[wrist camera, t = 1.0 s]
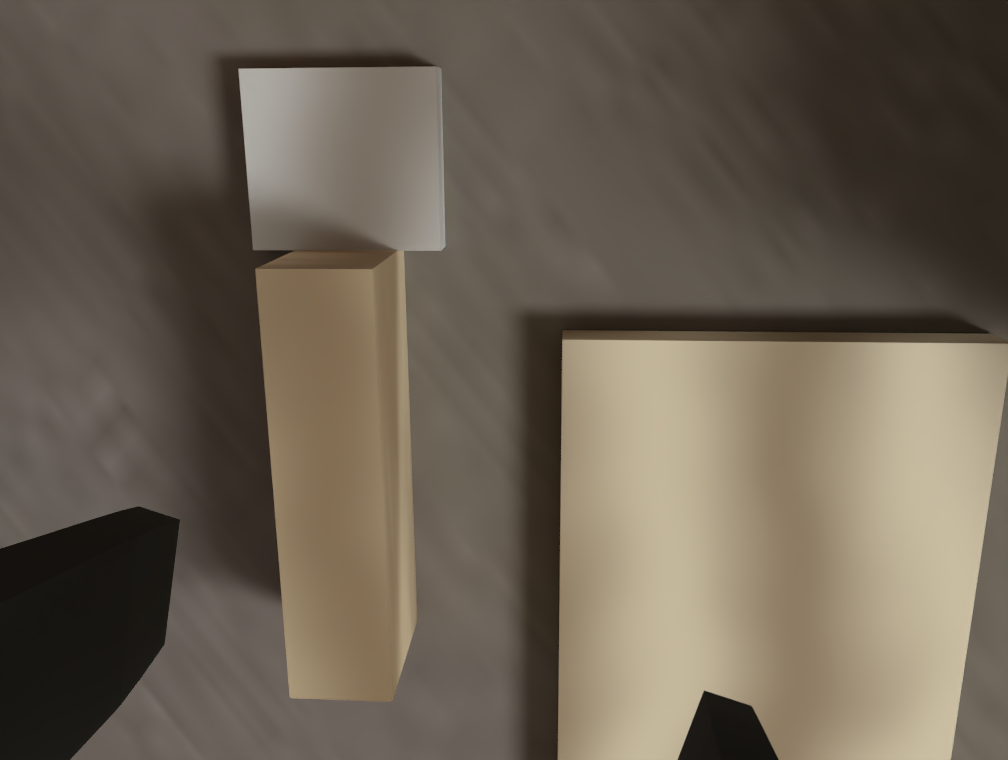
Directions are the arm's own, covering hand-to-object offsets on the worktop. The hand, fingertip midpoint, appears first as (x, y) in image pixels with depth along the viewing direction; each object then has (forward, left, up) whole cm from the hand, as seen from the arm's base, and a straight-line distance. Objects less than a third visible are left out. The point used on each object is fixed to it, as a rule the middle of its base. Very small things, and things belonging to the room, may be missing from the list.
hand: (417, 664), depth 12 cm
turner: (-3, +1, -11) cm, 12 cm away
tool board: (+7, -9, -11) cm, 16 cm away
